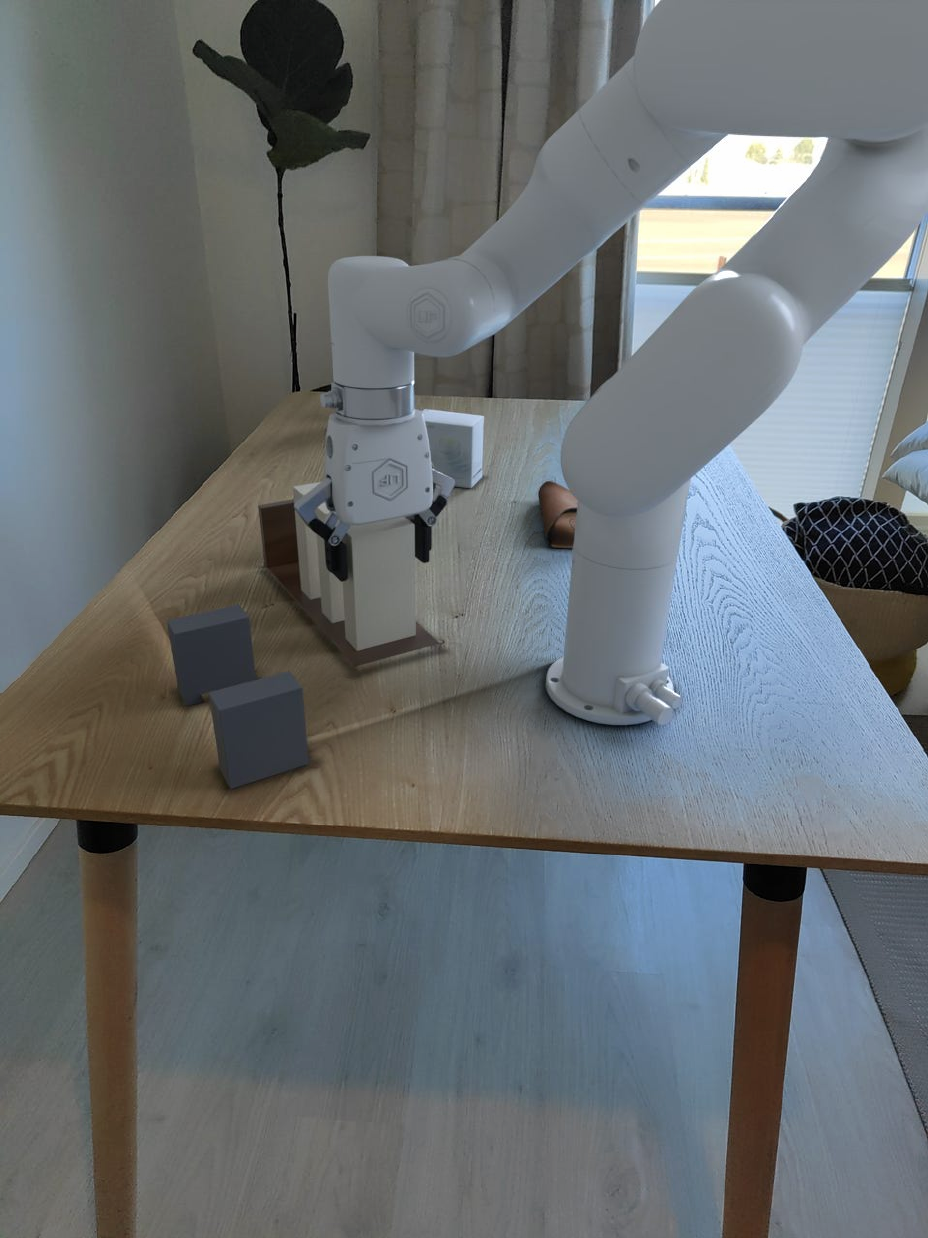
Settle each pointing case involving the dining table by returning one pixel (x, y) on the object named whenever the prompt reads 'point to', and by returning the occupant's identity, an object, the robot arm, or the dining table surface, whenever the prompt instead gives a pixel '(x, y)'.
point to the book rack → (285, 568)
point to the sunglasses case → (558, 514)
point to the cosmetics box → (456, 445)
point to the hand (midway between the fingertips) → (380, 566)
